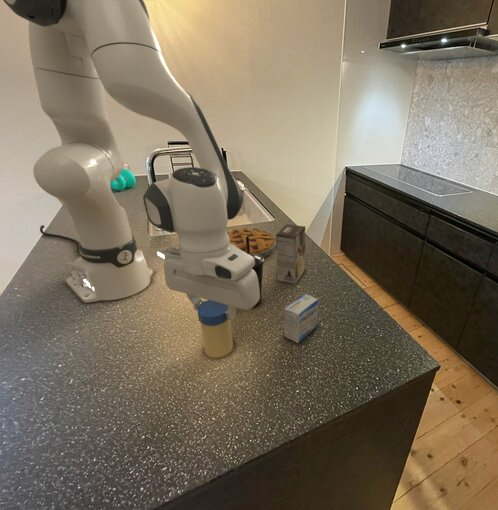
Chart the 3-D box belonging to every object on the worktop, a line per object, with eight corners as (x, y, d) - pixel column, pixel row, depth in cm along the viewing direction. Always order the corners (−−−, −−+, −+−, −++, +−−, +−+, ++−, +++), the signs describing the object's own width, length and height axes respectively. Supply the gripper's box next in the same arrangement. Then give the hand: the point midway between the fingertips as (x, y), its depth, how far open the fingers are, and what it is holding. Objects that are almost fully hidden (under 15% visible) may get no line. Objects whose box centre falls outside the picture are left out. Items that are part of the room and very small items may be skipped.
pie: (264, 234, 126) (263, 222, 124) (285, 256, 110) (285, 244, 108) (208, 243, 115) (206, 230, 113) (222, 269, 99) (221, 256, 97)
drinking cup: (240, 313, 80) (234, 245, 71) (235, 298, 86) (228, 233, 77) (269, 307, 84) (266, 241, 74) (261, 292, 89) (258, 229, 80)
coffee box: (286, 267, 104) (286, 223, 96) (304, 270, 103) (306, 226, 95) (276, 280, 96) (275, 234, 88) (296, 284, 95) (296, 237, 87)
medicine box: (298, 344, 72) (298, 315, 68) (283, 336, 74) (283, 307, 70) (317, 326, 78) (319, 299, 74) (303, 319, 80) (304, 292, 76)
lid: (193, 324, 62) (191, 315, 61) (206, 305, 68) (205, 297, 67) (223, 327, 62) (222, 318, 61) (234, 308, 68) (234, 299, 67)
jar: (199, 354, 67) (192, 315, 62) (214, 336, 72) (208, 298, 67) (224, 360, 66) (219, 320, 61) (238, 341, 71) (234, 303, 66)
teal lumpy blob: (107, 190, 160) (101, 171, 155) (122, 185, 168) (117, 167, 164) (124, 192, 159) (119, 173, 154) (138, 188, 167) (134, 169, 163)
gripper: (149, 252, 58) (163, 310, 65) (243, 275, 53) (248, 335, 60) (175, 239, 64) (185, 294, 70) (262, 259, 59) (265, 316, 65)
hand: (215, 313), depth 65 cm, fingers closed on lid, 6 cm apart
